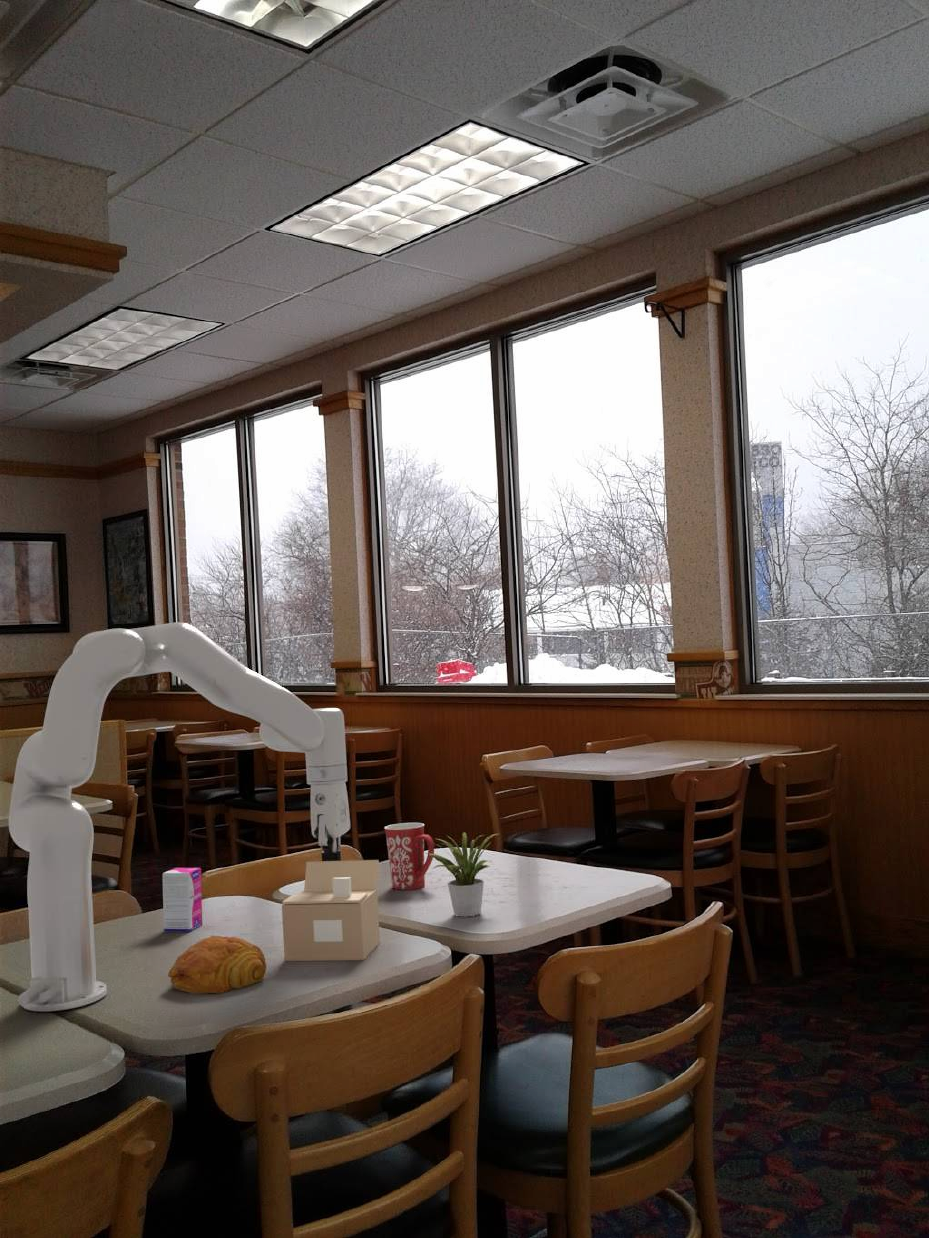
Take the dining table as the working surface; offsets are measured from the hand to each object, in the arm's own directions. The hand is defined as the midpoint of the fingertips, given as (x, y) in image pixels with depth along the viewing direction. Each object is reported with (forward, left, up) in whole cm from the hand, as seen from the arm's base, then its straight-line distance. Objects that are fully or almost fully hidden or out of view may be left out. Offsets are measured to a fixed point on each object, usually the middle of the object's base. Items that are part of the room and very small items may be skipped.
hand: (332, 873), depth 203 cm
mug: (+40, -6, -12) cm, 42 cm away
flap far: (-4, -3, 0) cm, 5 cm away
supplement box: (+7, +33, -12) cm, 36 cm away
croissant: (-28, +12, -12) cm, 33 cm away
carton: (-11, -3, -11) cm, 16 cm away
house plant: (+16, -23, -12) cm, 30 cm away
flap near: (-14, -3, -2) cm, 15 cm away
